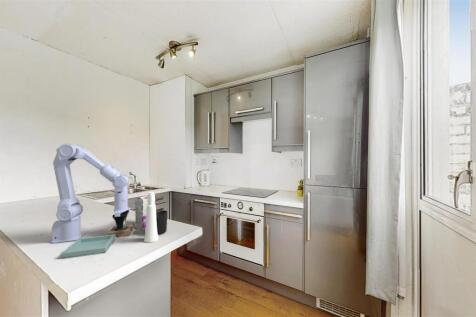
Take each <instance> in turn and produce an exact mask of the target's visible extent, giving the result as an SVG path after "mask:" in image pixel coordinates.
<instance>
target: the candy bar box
mask: <svg viewBox="0 0 476 317" xmlns="http://www.w3.org/2000/svg"><path fill="white" fill-rule="evenodd" d="M134 205H135V206H134V208H135V209H134V213H135V214H134V216H135V229H137V228H138V229H140V230H141V229H142V230H143V229H146V213H147V205H148V194H145V195H142V196H138V197H135V198H134Z"/></svg>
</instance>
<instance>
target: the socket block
mask: <svg viewBox="0 0 476 317" xmlns="http://www.w3.org/2000/svg"><path fill="white" fill-rule="evenodd" d="M133 230H134V224H128V225H127V224H126V230H120V231H117V226H113V227H111V229H110V230H109V231H108V232H107V235H114V234H116V238H123V237H130V236H131V234H132V232H133Z"/></svg>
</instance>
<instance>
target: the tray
mask: <svg viewBox="0 0 476 317" xmlns="http://www.w3.org/2000/svg"><path fill="white" fill-rule="evenodd" d="M116 238H117V237H116V234H114V235H108V234H106V235H99V236H90V237H80V238H79V239H78V240H75V241H74V242H73V243H71V245H70V246H68V247H67V248H66V249H65V250H64V251H63V252H62V253H61V260H63V259H70V258H78V257H84V256H91V255H99V254H106V253H107V251H108V250H109V249H110V247H111V246H112V244H113V243H114V241H115V240H116Z"/></svg>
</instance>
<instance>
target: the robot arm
mask: <svg viewBox="0 0 476 317" xmlns="http://www.w3.org/2000/svg"><path fill="white" fill-rule="evenodd" d="M76 160H83V161H85V162H87V163H88V164H90V165H92V166H93V167H94V168H95V169H97V170H99V174H100V175H101V176H102V177H104V178H105V179H106V180H107V181H109V182H110V183H112V186H113V188H114V197H113V199H114V204H113V205H114V208H113V212H114V214H113V215H111V216H112V219H113V221H114V222H115V225H116V226H117V229H122V228H123V224H124V219H125V218H126V219H127V217H128V215H129V213H130V210H131V207H129V198H128V197H129V195H128V194H129V190H128V189H129V188H128V184H129V182H130V179H129V177H128V176H127V175H124V174H123V173H122V172H119V171H118V170H117V169H115V168H116V167H115V166H114V165H110V164H105V163H103V161H101V159H99V158H98V157H97V156H95V155H94V154H93V153H92V152H91V151H89V149H87V148H85V147H83V146H82V145H81V144H71V143H64V144H61V145H60V146H59V147H58V148H56V155H55V157H54V159H53V162H52V166H53V170H54V175H55V179H56V180H55V181H56V184H57V189H58V195H59V200H60V201H59V203H58V205H57V211H56V214H55V215H56V219H57V220H55V221H54V222H53V224H52V226H51V241H50V244H56V243H66V242H73V241H74V242H76V241H77V240H78V239H79V238H82V236H84V235H85V233H84V232H81V214H82V213H83V211H84V207H83V205H82V204H81V203H80V200H79V199H78V198H77V197H76V196H77V195H76V193H75V192H76V191H75V188H74V182H73V176H72V172H71V164H73V163H74V162H75V161H76Z"/></svg>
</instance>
